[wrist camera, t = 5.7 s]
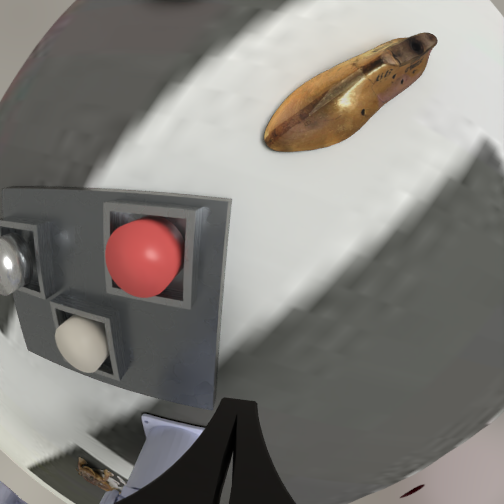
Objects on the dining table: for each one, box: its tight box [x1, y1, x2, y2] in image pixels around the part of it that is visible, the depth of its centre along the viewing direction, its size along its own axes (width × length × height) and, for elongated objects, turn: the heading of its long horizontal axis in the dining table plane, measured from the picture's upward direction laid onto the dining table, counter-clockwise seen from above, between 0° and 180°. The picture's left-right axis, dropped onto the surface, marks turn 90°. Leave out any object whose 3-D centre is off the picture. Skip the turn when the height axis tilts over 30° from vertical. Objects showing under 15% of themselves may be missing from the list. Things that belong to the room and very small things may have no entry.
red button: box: [105, 216, 185, 298], centre depth 16 cm, size 4×4×2 cm
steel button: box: [0, 232, 33, 296], centre depth 16 cm, size 4×4×2 cm
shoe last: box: [264, 33, 437, 152], centre depth 14 cm, size 4×14×5 cm, turn 125°
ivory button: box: [55, 314, 110, 373], centre depth 19 cm, size 4×4×2 cm
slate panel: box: [0, 186, 232, 410], centre depth 19 cm, size 17×21×3 cm
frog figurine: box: [76, 457, 126, 495], centre depth 30 cm, size 12×12×4 cm
